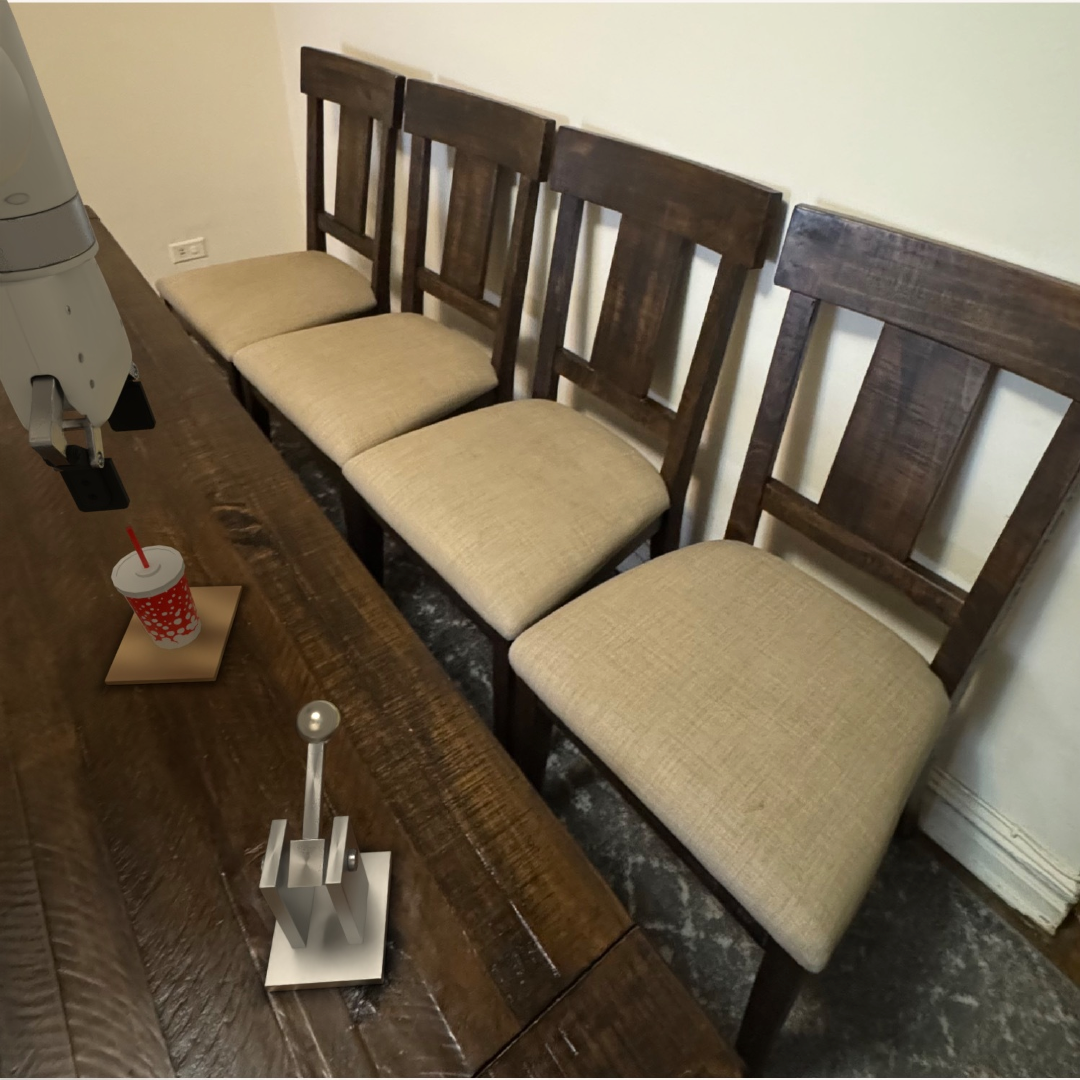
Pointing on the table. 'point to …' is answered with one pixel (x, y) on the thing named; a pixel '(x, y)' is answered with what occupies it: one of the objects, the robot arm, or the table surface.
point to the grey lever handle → (313, 794)
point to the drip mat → (188, 662)
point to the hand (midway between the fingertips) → (121, 465)
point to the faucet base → (327, 914)
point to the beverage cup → (158, 593)
